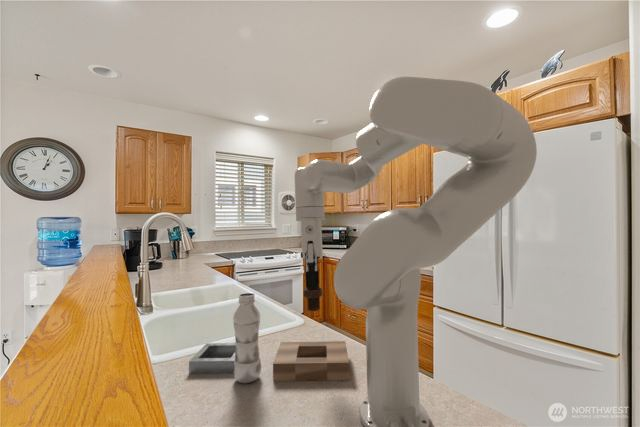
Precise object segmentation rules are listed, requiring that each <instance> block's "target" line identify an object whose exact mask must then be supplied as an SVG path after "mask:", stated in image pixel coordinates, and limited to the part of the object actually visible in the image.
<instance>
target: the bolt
mask: <svg viewBox="0 0 640 427" xmlns="http://www.w3.org/2000/svg"><path fill="white" fill-rule="evenodd" d="M305 256H306V253H305ZM305 258H306V257H305ZM307 258H308V256H307ZM300 259H304V258H303V254H302V251H301V253H300ZM313 259H315V256H313ZM319 259H320V257H317V271H318V269H319ZM304 261H305V265H306V259H304ZM314 262H315V261H314ZM318 274H320V273H318ZM322 296H323V289H322V288H321V287H320V286H319V287H318V288H304V289H303V297H305V299H306V301H307V307H306V308H307V311H309V312H318V311H319V310H320V309H321V305H320V298H321V297H322Z"/></svg>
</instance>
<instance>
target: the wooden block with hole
mask: <svg viewBox="0 0 640 427" xmlns="http://www.w3.org/2000/svg"><path fill="white" fill-rule="evenodd" d="M272 379H273V380H272V381H273V382H289V381H291V382H292V381H293V382H297V381H298V382H300V381H303V382H304V381H305V382H309V381H311V382H312V381H350V380H351V378H350V359H349V354H348V349H347V344H346V341H345V340H343V341H342V340H341V341H340V340H339V341H337V340H335V341H280V344H279V345H278V349H277V351H276V355H275V358H274V360H273V363H272Z"/></svg>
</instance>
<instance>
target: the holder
mask: <svg viewBox="0 0 640 427" xmlns="http://www.w3.org/2000/svg"><path fill="white" fill-rule="evenodd" d="M235 351H236V342H225V343H224V342H223V343H221V342H219V343H217V342H215V343H212V342H211V343H205V345H204V346H202V347H201V349H200V350H199V351H197V353H195V355H194V356H192V357H191V358H190V360H189V361H188V374H190V375H191V374H192V375H193V374H200V375H201V374H234V372H233V368H234V361H235ZM211 357H212V358H211Z"/></svg>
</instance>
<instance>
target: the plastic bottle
mask: <svg viewBox="0 0 640 427" xmlns="http://www.w3.org/2000/svg"><path fill="white" fill-rule="evenodd" d="M255 303H256V299H255V293H253V292H245V293H240V294H239V295H238V304H239V306H238V307H237V308H236V310H235V311H234V314H233V317H232V322H233V328H234V336H235V343H236V351H235V361H234V368H233V372H234V373H233V376H234V379H235V380H236V381H237V382H239V383H241V384H248V383H249V384H250V383H253V382H255V381H257V380H258V379H259V377H260V375H261V372H262V361H261V357H260V347H259V335H260V332H259V330H260V324H261V313H260V311H259V309H258V308H257V306H256V305H255Z"/></svg>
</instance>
